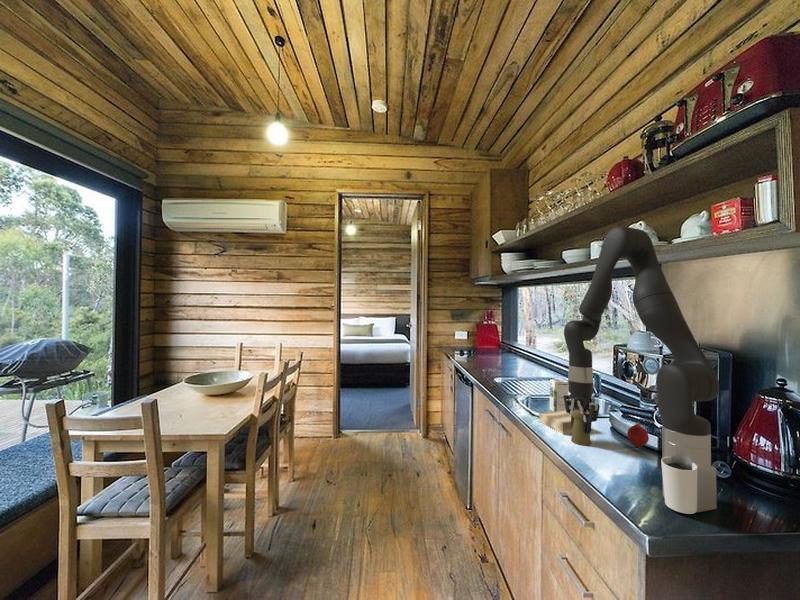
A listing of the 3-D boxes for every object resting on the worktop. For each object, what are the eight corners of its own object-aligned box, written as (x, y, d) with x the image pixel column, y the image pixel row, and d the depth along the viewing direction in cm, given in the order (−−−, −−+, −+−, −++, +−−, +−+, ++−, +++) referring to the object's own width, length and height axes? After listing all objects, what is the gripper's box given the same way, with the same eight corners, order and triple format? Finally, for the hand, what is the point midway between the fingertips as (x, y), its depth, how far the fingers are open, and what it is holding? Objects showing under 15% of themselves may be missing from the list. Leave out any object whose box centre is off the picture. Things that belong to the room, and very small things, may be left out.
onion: (644, 452, 110) (644, 426, 110) (624, 446, 115) (624, 422, 115) (651, 448, 114) (651, 423, 114) (631, 442, 118) (631, 418, 119)
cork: (586, 439, 121) (586, 407, 121) (594, 446, 115) (594, 412, 115) (568, 438, 122) (568, 406, 122) (575, 445, 116) (574, 412, 116)
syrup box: (549, 412, 152) (548, 379, 152) (562, 412, 152) (562, 379, 152) (554, 416, 146) (554, 381, 146) (568, 417, 146) (568, 381, 146)
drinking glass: (655, 501, 84) (654, 459, 83) (675, 495, 86) (673, 454, 85) (686, 518, 77) (684, 473, 77) (706, 510, 79) (704, 466, 79)
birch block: (589, 433, 128) (589, 419, 128) (562, 437, 124) (562, 422, 124) (564, 423, 139) (564, 410, 139) (539, 426, 136) (539, 413, 136)
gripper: (607, 383, 113) (607, 436, 112) (574, 375, 127) (574, 422, 126) (587, 384, 111) (587, 439, 110) (556, 375, 125) (556, 424, 124)
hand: (580, 429), depth 118 cm, fingers closed on cork, 4 cm apart
